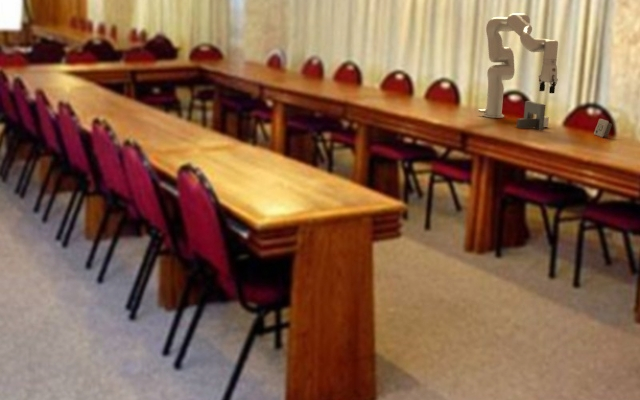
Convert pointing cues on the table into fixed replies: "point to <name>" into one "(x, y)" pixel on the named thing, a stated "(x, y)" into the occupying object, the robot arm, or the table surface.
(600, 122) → the electrical switch
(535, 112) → the grey arch block
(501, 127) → the table surface
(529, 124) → the plug
